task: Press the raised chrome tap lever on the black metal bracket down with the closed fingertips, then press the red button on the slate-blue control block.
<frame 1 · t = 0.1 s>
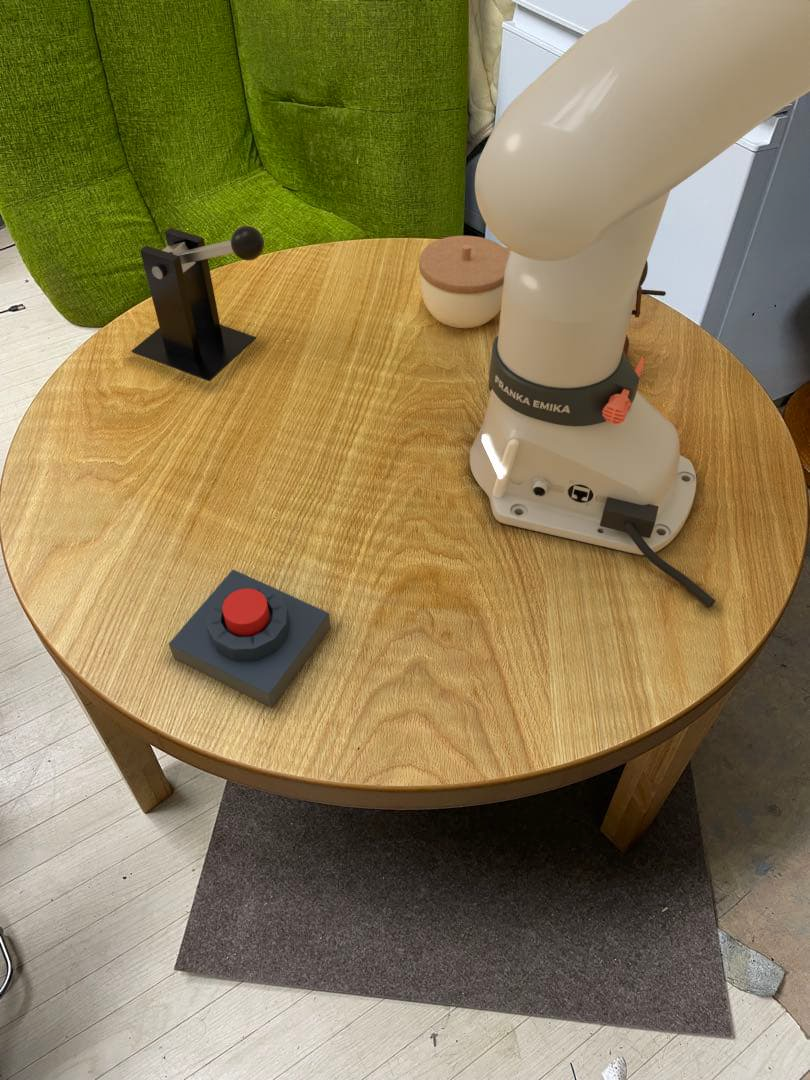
music box: (583, 362, 99), on the table
button block: (253, 642, 74), on the table
trinket box: (462, 318, 105), on the table
button: (246, 612, 71), point 4 cm above the table, slide at 0.1 cm
tap lever: (210, 251, 88), point 14 cm above the table, hinge at 25.0°
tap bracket: (196, 352, 100), on the table
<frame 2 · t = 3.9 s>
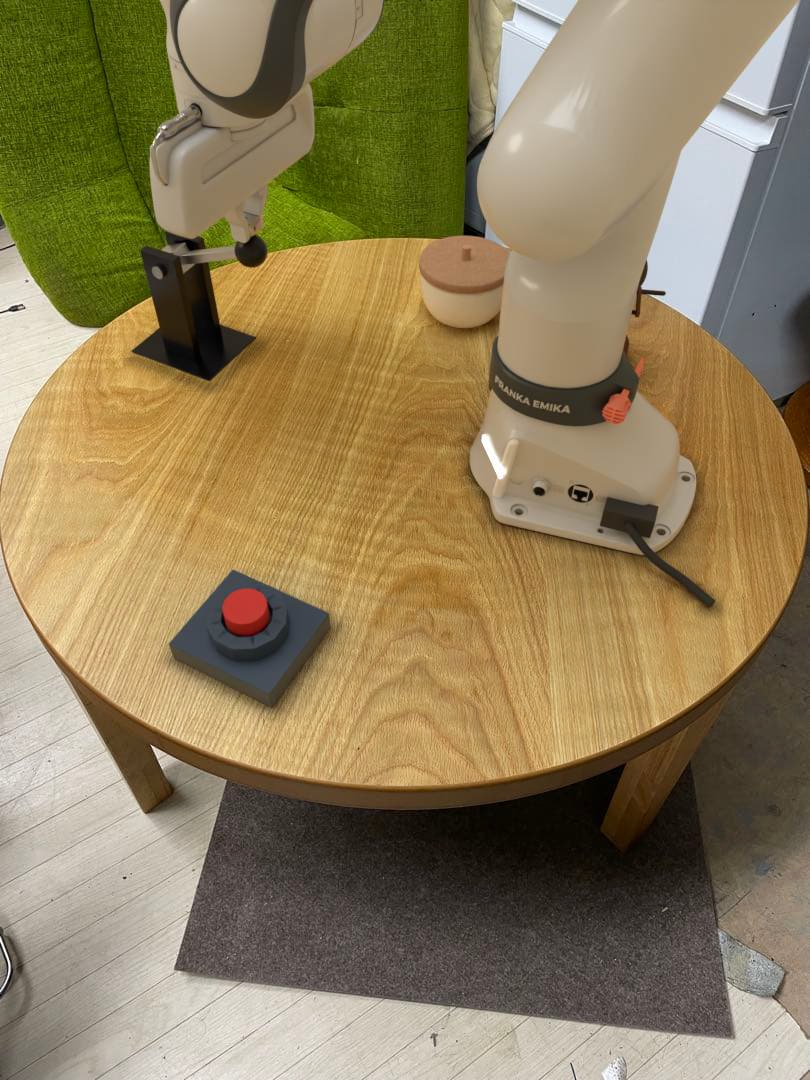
hand: (248, 235, 84), 18 cm above the table, tool pointing down, fingers closed
tap lever: (212, 255, 88), point 14 cm above the table, hinge at 20.9°
everything else where it was.
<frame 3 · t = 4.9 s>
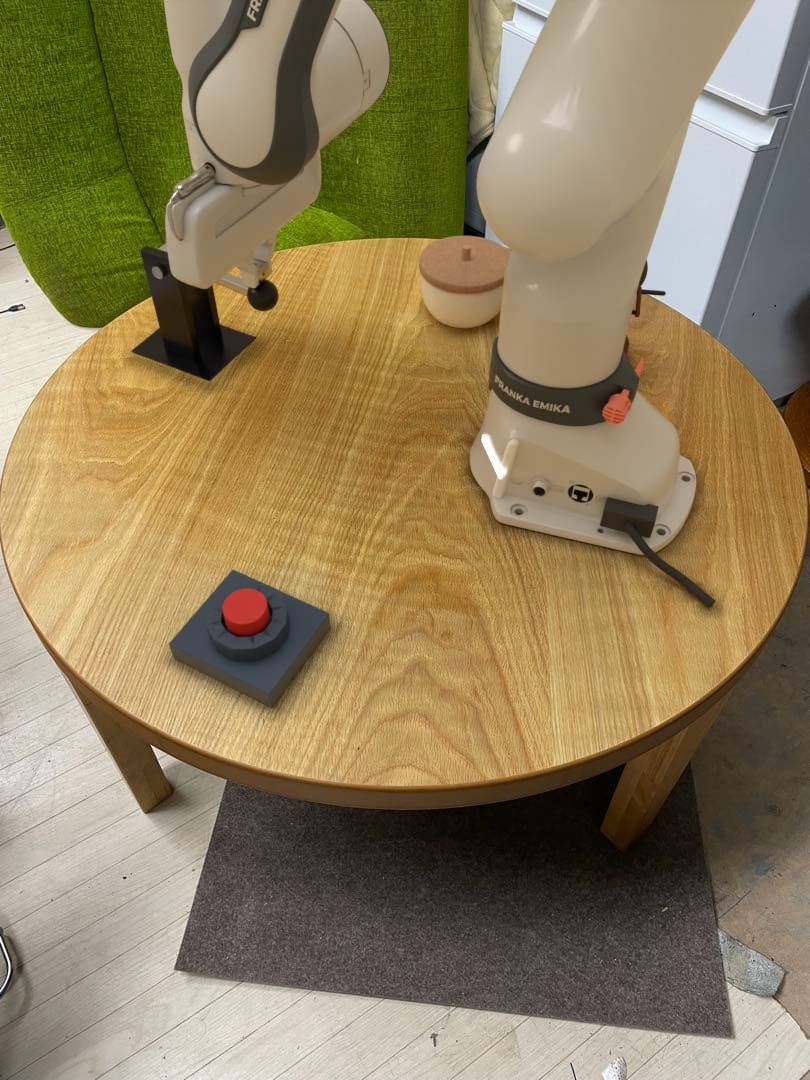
hand: (257, 280, 87), 13 cm above the table, tool pointing down, fingers closed
tap lever: (219, 277, 90), point 12 cm above the table, hinge at -4.7°
everything else where it was.
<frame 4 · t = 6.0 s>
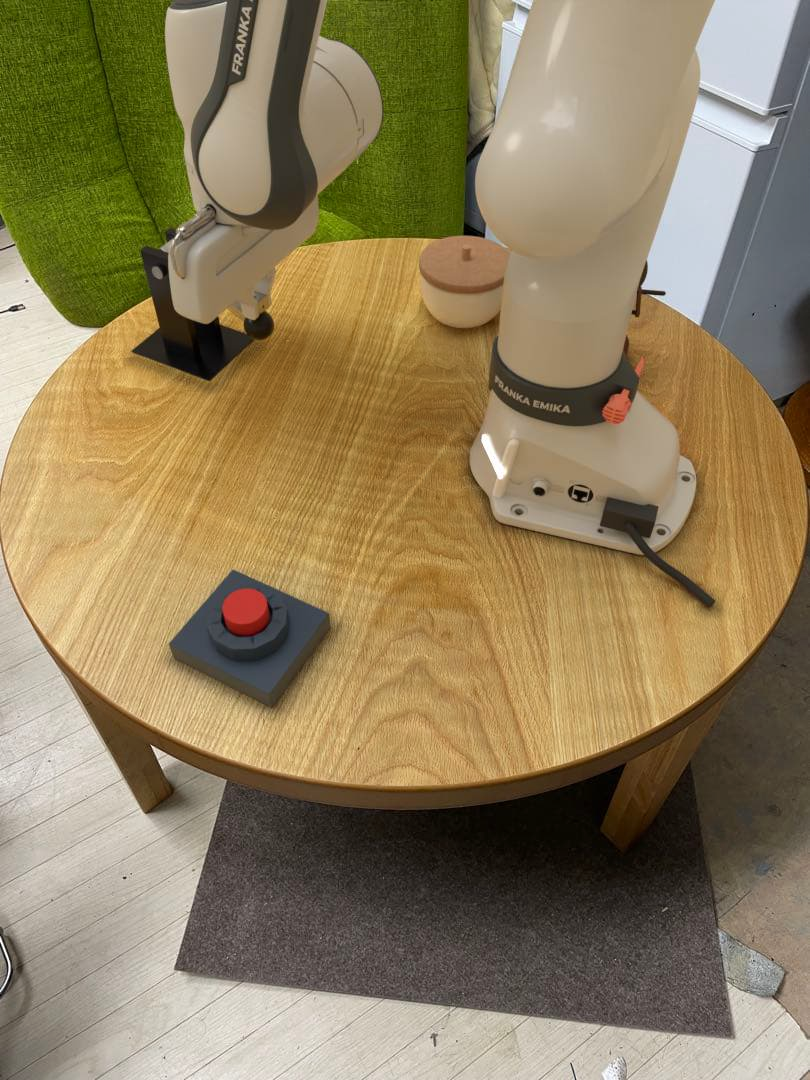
hand: (257, 311, 90), 9 cm above the table, tool pointing down, fingers closed, pressing on tap lever
tap lever: (218, 292, 91), point 10 cm above the table, hinge at -26.2°, touching gripper
everything else where it was.
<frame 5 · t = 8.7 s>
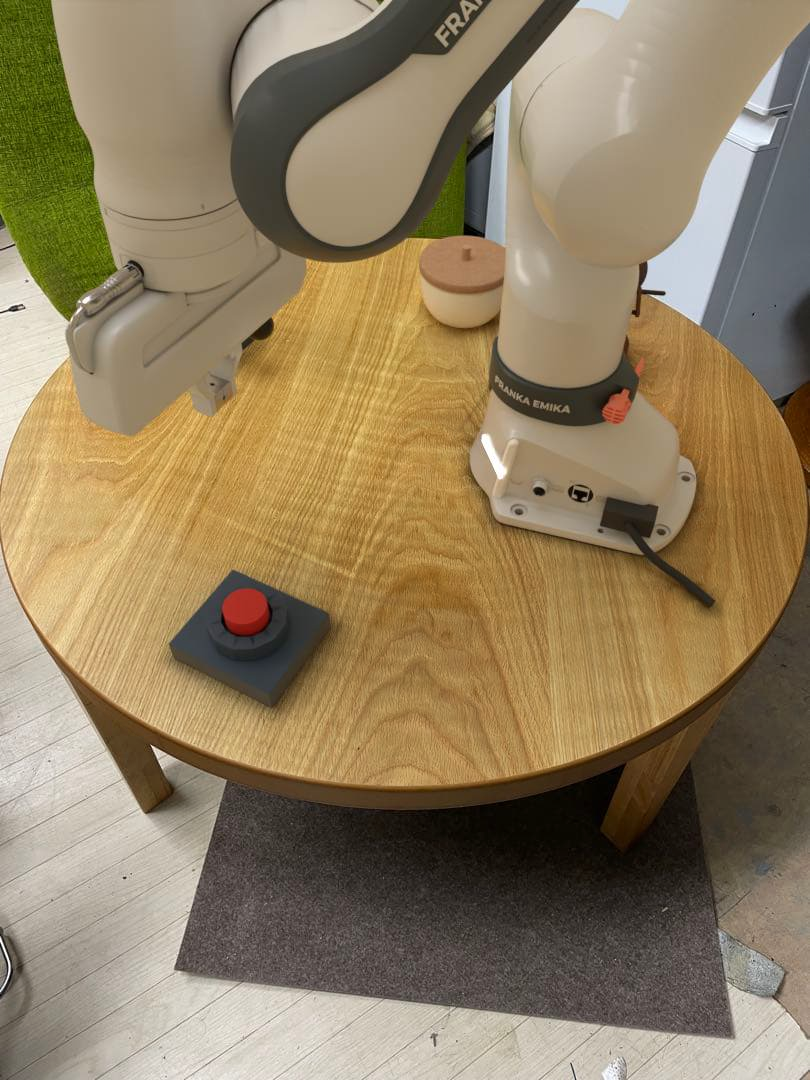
hand: (216, 403, 63), 20 cm above the table, tool pointing down, fingers closed
tap lever: (218, 292, 91), point 10 cm above the table, hinge at -26.3°
everything else where it was.
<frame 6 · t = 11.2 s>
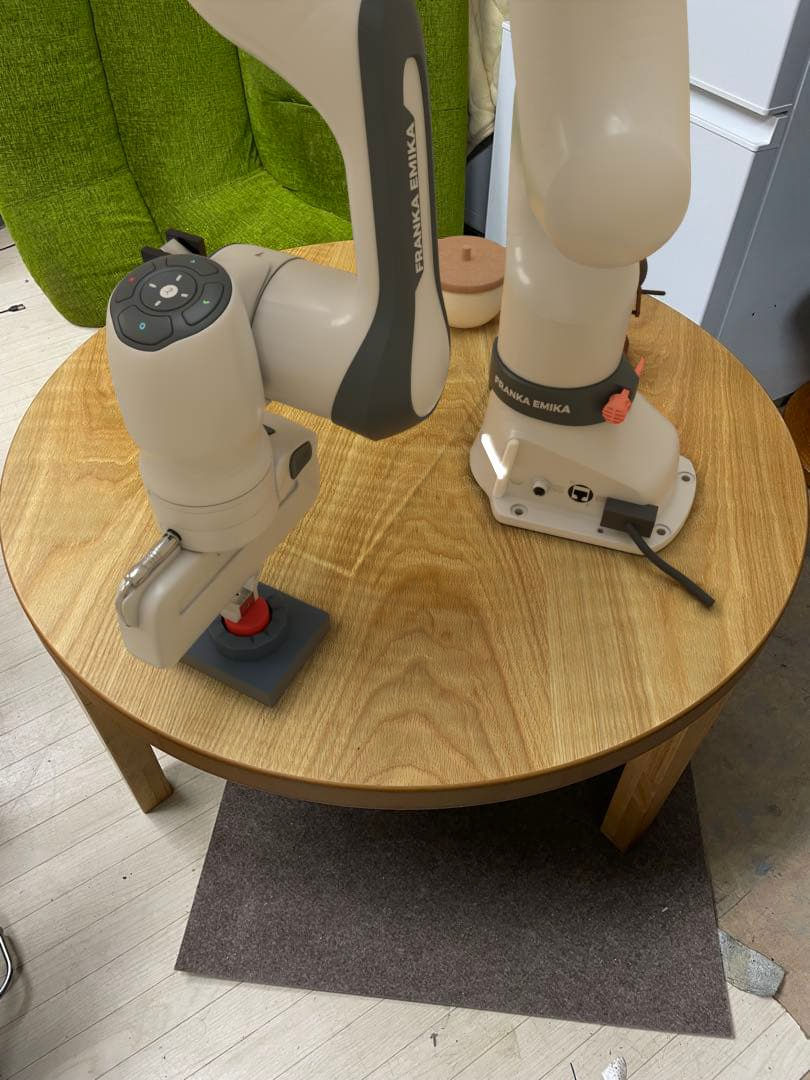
hand: (240, 607, 71), 5 cm above the table, tool pointing down, fingers closed, pressing on button
button: (247, 617, 71), point 4 cm above the table, slide at -0.6 cm, touching gripper
everything else where it was.
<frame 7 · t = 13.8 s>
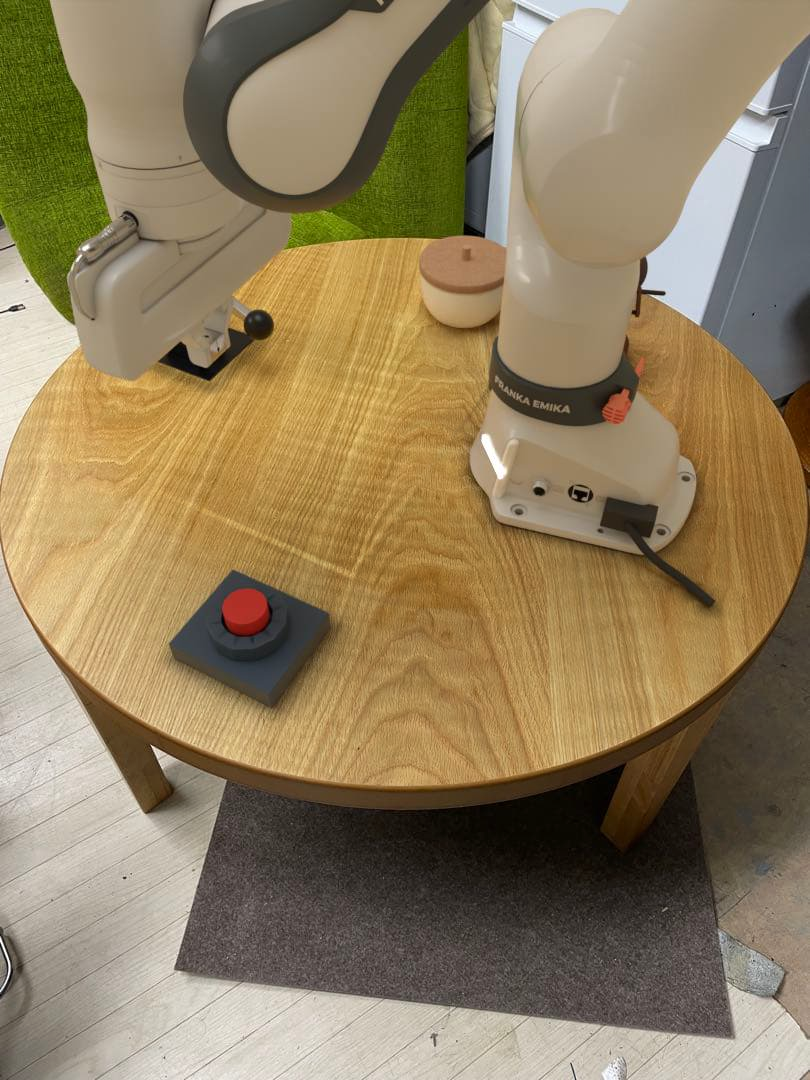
hand: (211, 355, 66), 21 cm above the table, tool pointing down, fingers closed
button: (246, 612, 71), point 4 cm above the table, slide at 0.1 cm
everything else where it was.
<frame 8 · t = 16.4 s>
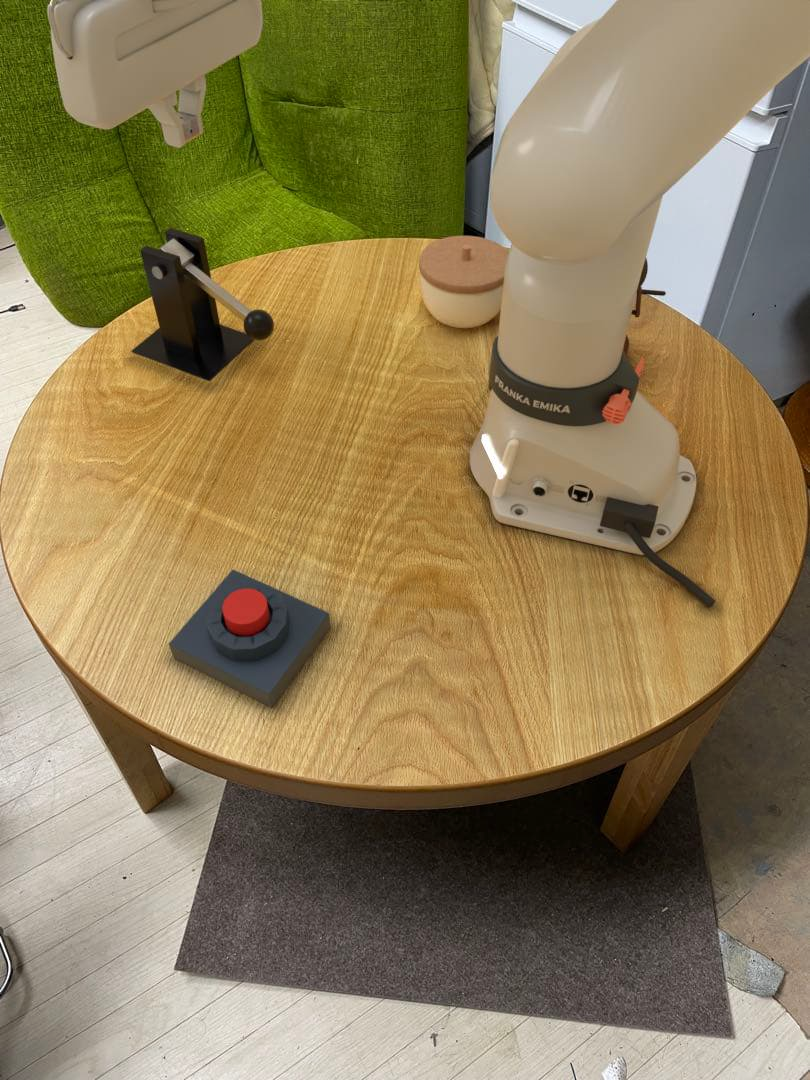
hand: (184, 139, 72), 29 cm above the table, tool pointing down, fingers closed
nothing on the table moved.
at the end: tap lever at -26° (first picture: +25°); button pushed in 1.1 cm at the most during the clip, back to where it started at the end; button slide at 0.1 cm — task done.
